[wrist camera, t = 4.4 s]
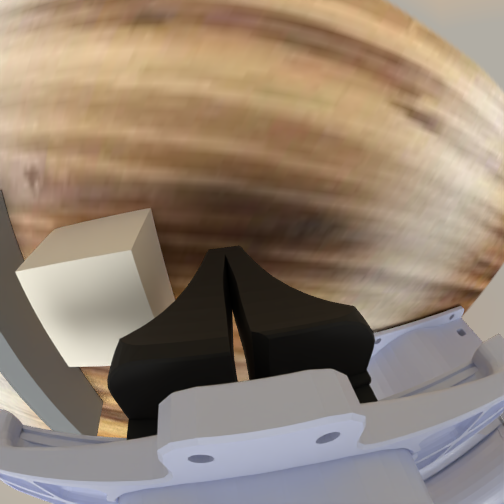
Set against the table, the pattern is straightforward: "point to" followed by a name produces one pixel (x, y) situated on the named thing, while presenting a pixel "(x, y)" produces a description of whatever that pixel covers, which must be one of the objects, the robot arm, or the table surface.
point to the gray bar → (38, 353)
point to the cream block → (97, 284)
